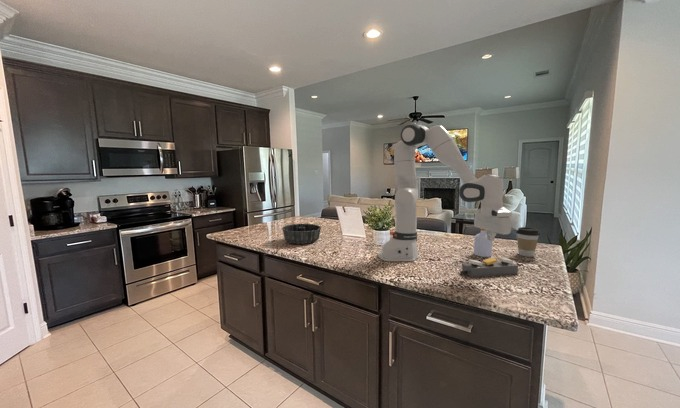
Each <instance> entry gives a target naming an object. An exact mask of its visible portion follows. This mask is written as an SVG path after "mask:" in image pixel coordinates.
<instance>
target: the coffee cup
mask: <svg viewBox="0 0 680 408" xmlns="http://www.w3.org/2000/svg"><path fill="white" fill-rule="evenodd" d="M515 233H516V236H517V238H516V239H517V253H518V255H519V256H522V257H528V258H529V257H530V258H531V257H534V256H535V253H536V250H537V245H538V240H539V236H540V234H541V233H540V231H539V230H538V229H537V228H533V227H527V226H526V227H524V226H522V227H521V226H519V227H518V229H516V230H515Z"/></svg>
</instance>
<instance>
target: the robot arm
mask: <svg viewBox="0 0 680 408" xmlns="http://www.w3.org/2000/svg"><path fill="white" fill-rule="evenodd" d="M400 139H401V140H399V141H398V142H396V143H395V145H394V149H393V150H394V151H393V161H394V163H393V164H394V178H395V181H396V187H397V191H396V192H395V195H394V205H395V207H394V208H395V219H396V220H395V231H392V230H390V232H389V235H391V236H392V237H391V238H390V239H389V240H388V241H387V242H385V243H383V245H382V248H381V251H380V252H378V253H377V257H378V258H379V259H381V260H382V261H385V262H415V261H416V260H417V259H419V253H418V252H419V251H418V246H417V245H418V243H417V241H418V231H417V226H418V225H417V223H418V216H417V201H418V200H419V187H418V181H417V170H416V169H417V168H416V156H415V154H416V150H420V149H422V148H423V147H426V146H428V147H429V148H430V151H432V154H433V155H434V157H435V158H436V159H437V160H438V162H440V163H441V164H443V165H445V166H447V167H449V168H451V169H452V170H453V171H454V172H456V174H457V175H458V177H459V179H460V180H461V182H462V183H463V184H462V185H461V186H460V188H459V190H458V195H459V197H460V199H461V200H462V201H464V202H466V203H475V202H480V207H479V208H478V209H477V210H476V211H475V214H474V220H473V225H474V227H475V228H479V229H485V233H486V235H487V240H490V241H492V242H494V241H495V237H496V236H497V234H500V235H502V236H503V235H510V233H511V232H512V218H511V217H512V214H513V213H512V211H510V210H509V209H507V208H506V207H504V202H503V197H504V180H503V178H502V177H501V176H499V175H496V174H484V175H482V176H481V177H479V178H478V177H476V175H475V174H474V172H473V171H472V169H471V167H470V166H469V165H468V164H467V162H466V160H465V158H464V156H463V155H462V153H461V151H460V148H459V147H458V145H457V143H456V141H455V140H454V138H453V136H452V135H451V134H450V132H449V131H448V130H447V129H446V128H445V127H444V126H443V125H439V124H438V125H434V126H431V127H429V126H426V125H423V124H414V123H413V124H408V125H406V126H404V127H403V128H402V130H401V132H400Z"/></svg>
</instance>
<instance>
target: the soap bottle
mask: <svg viewBox="0 0 680 408" xmlns="http://www.w3.org/2000/svg"><path fill="white" fill-rule="evenodd" d="M492 251H493V241H490V240H487V235H486V233H485V229H482V228H480V232H479V233H477V234H475V236H474V244H473V254H474V255H475V256H478V257H482V258H489V257H490V258H491V257H492V254H493V253H492Z"/></svg>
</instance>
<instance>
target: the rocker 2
mask: <svg viewBox="0 0 680 408" xmlns="http://www.w3.org/2000/svg"><path fill="white" fill-rule="evenodd" d="M497 261H498V260H497V259H496V258H494V257H490V258H489V257H488V258H487V259H483V260H482V262H483V263H484V264H486V265H490V264H493V263H496V262H497Z"/></svg>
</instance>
